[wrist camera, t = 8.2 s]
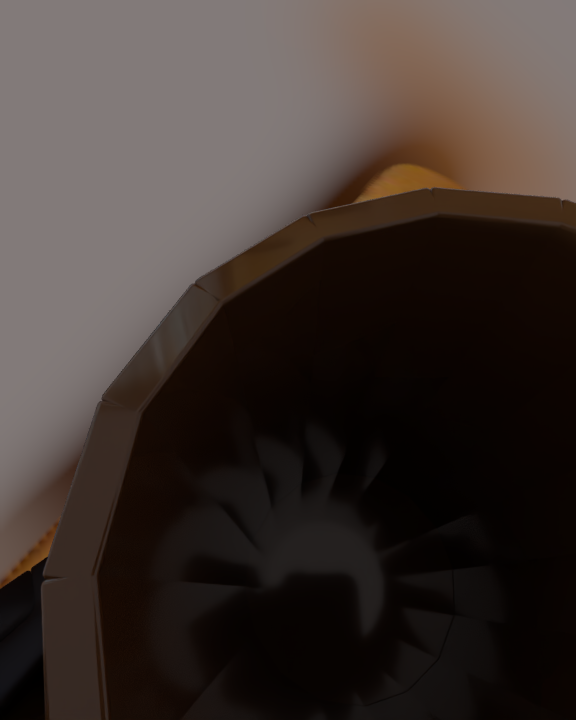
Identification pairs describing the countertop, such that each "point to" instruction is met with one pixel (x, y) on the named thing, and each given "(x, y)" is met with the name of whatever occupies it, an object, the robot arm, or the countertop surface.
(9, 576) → the countertop surface
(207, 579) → the brown faceted cup
